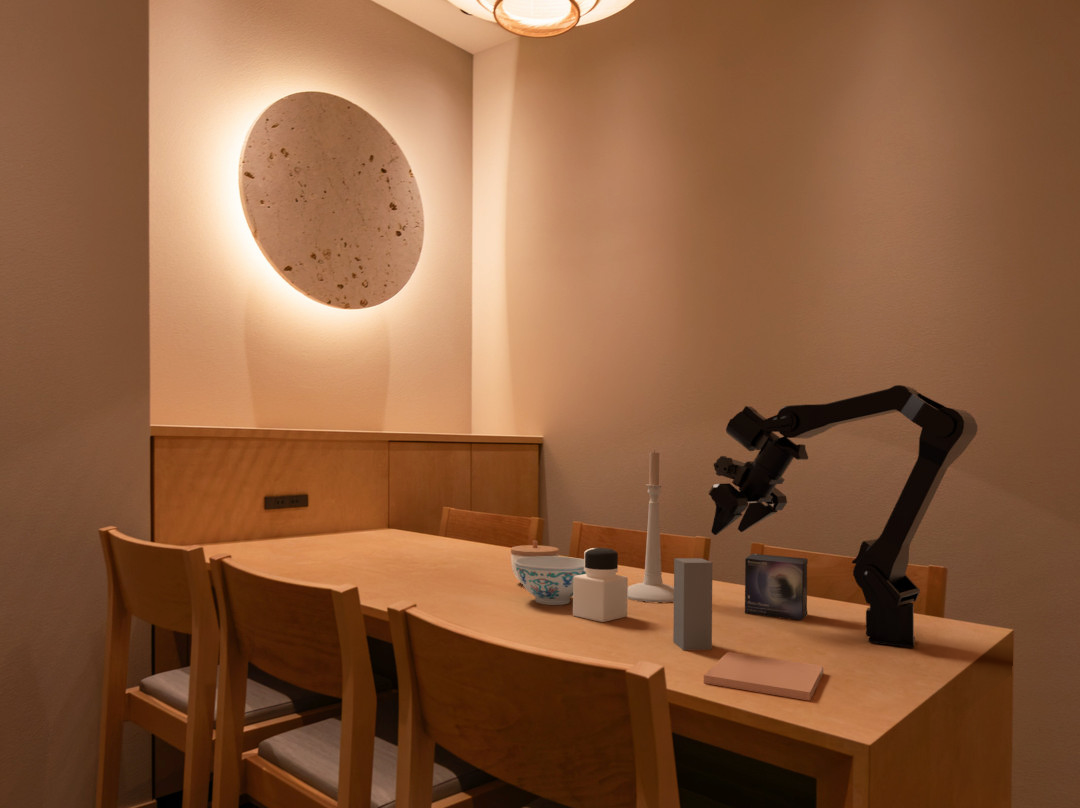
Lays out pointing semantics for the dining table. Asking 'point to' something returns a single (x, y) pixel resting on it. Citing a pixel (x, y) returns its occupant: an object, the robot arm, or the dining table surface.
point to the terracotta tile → (765, 675)
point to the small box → (776, 586)
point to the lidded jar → (530, 553)
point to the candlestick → (652, 548)
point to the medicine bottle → (600, 587)
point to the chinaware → (549, 577)
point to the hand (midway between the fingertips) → (726, 532)
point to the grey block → (692, 604)
